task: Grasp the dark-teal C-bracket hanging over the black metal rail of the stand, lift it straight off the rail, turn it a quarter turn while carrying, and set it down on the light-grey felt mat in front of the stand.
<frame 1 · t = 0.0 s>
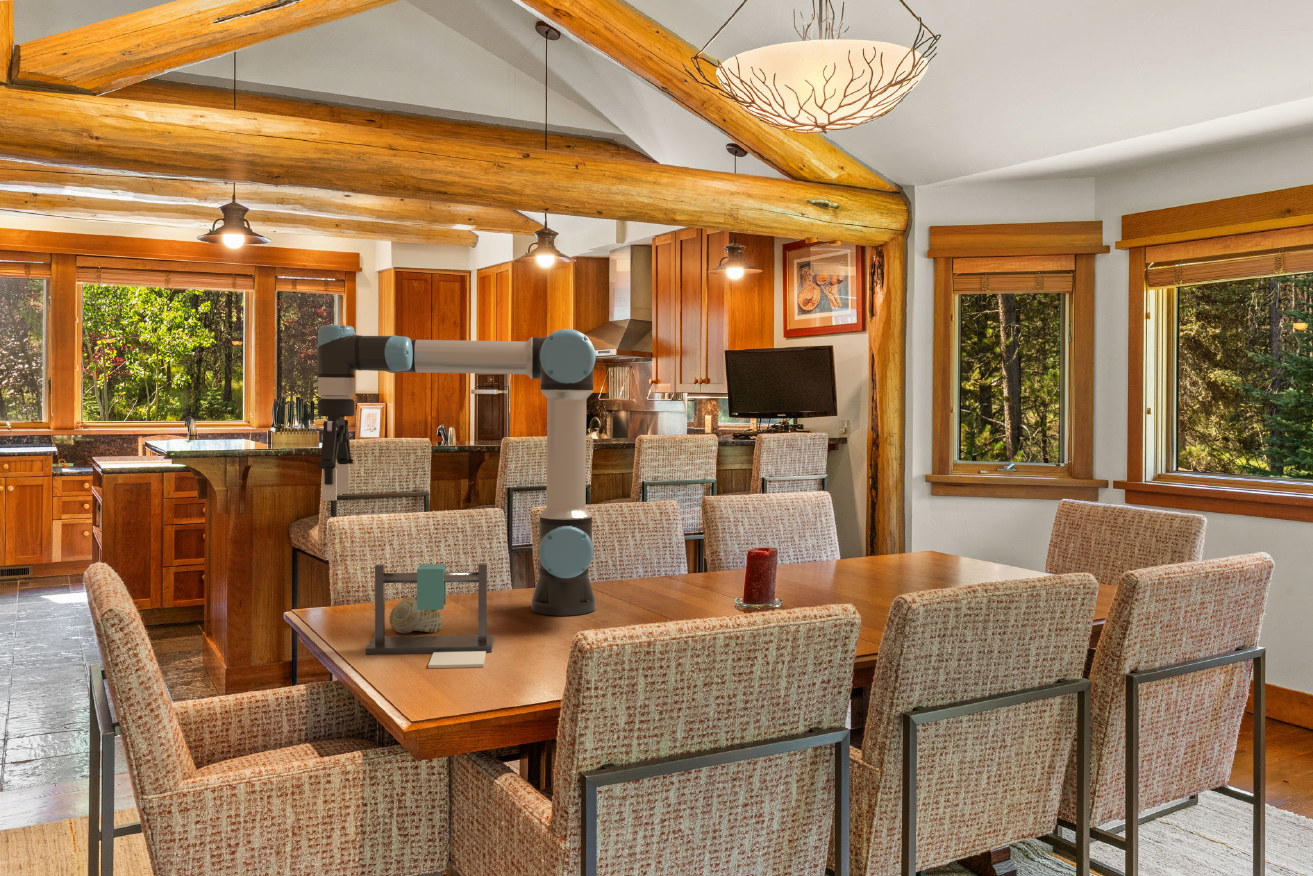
hand: (336, 497, 209), 28 cm above the table, fingers open, 13 cm apart
seashell: (414, 632, 207), on the table
stand: (431, 647, 193), on the table
c link: (431, 606, 193), point 8 cm above the table, touching stand
mat: (457, 661, 184), on the table
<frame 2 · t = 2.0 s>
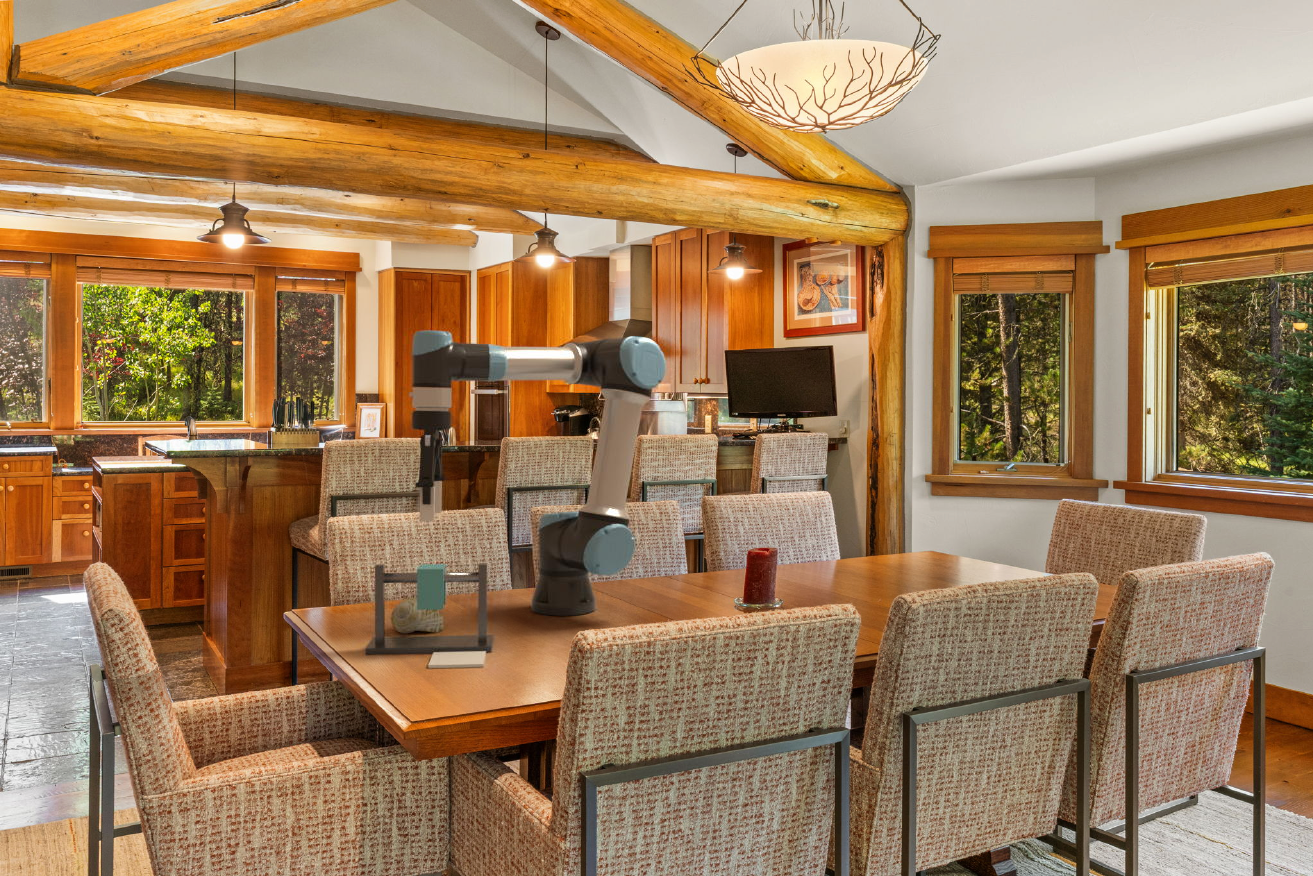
hand: (430, 517, 192), 26 cm above the table, fingers open, 13 cm apart
nothing on the table moved.
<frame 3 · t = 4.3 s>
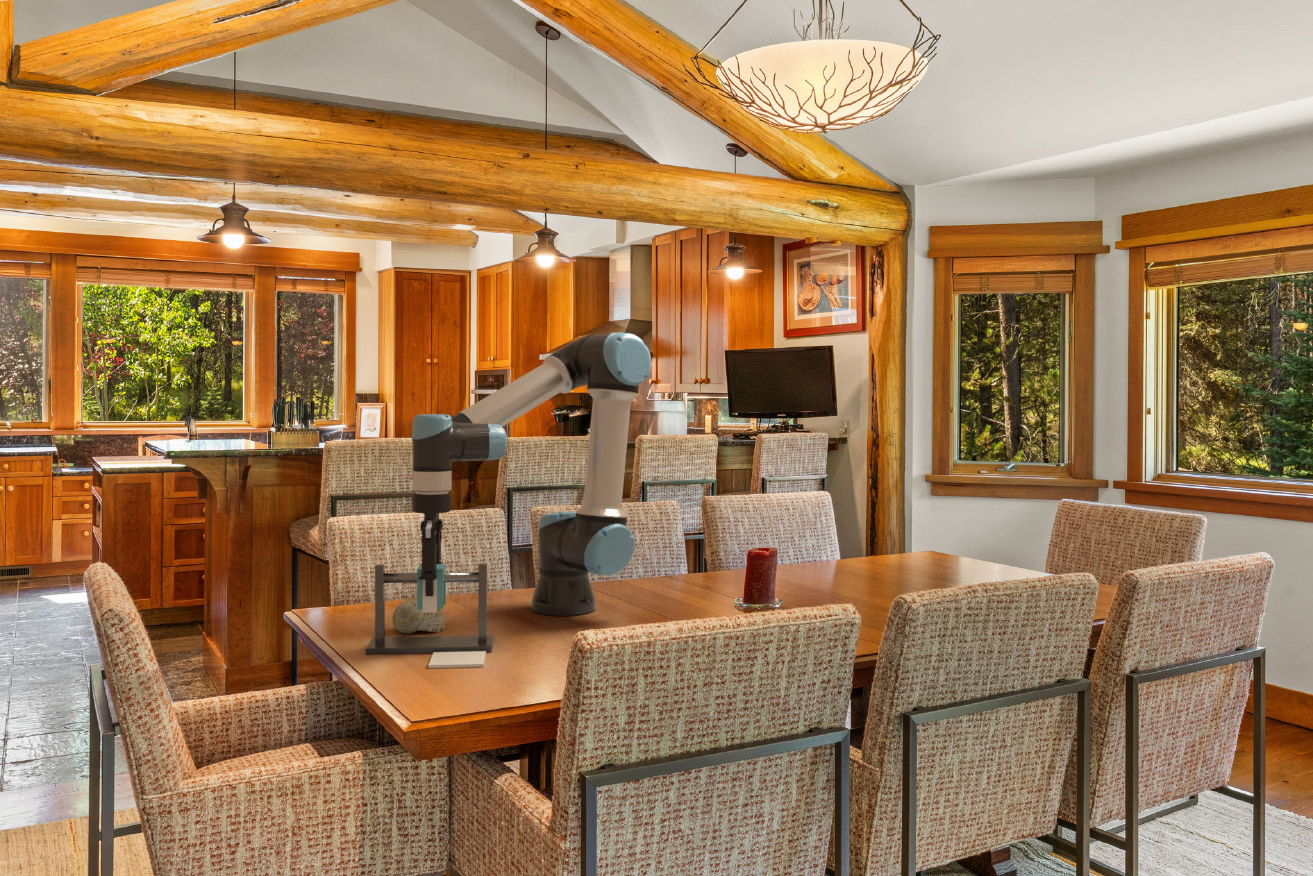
hand: (431, 608, 193), 8 cm above the table, fingers closed on c link, 6 cm apart
c link: (431, 606, 193), point 8 cm above the table, touching gripper, stand
everything else where it was.
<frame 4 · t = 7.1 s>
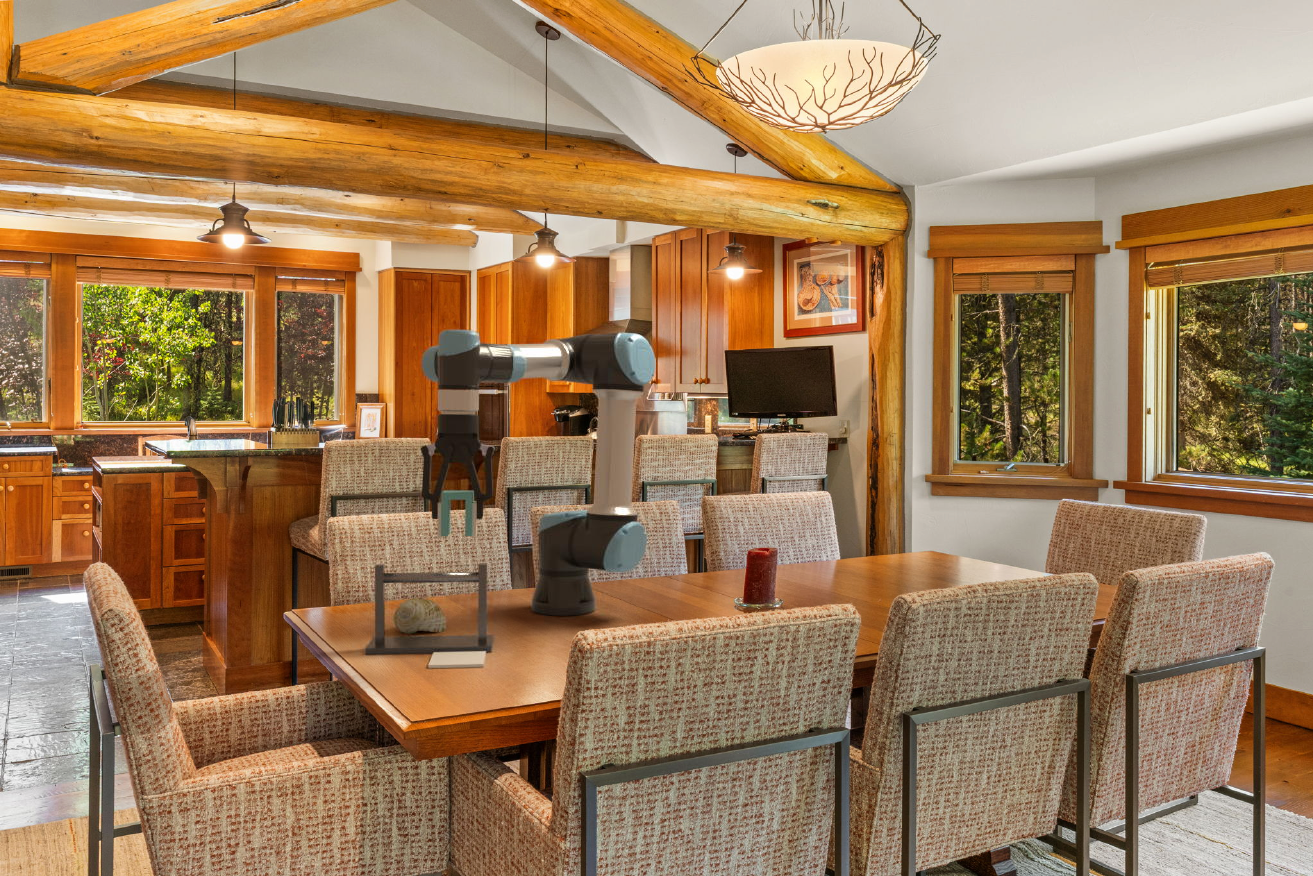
hand: (457, 536, 183), 24 cm above the table, fingers closed on c link, 6 cm apart
c link: (457, 534, 183), point 24 cm above the table, touching gripper
everything else where it was.
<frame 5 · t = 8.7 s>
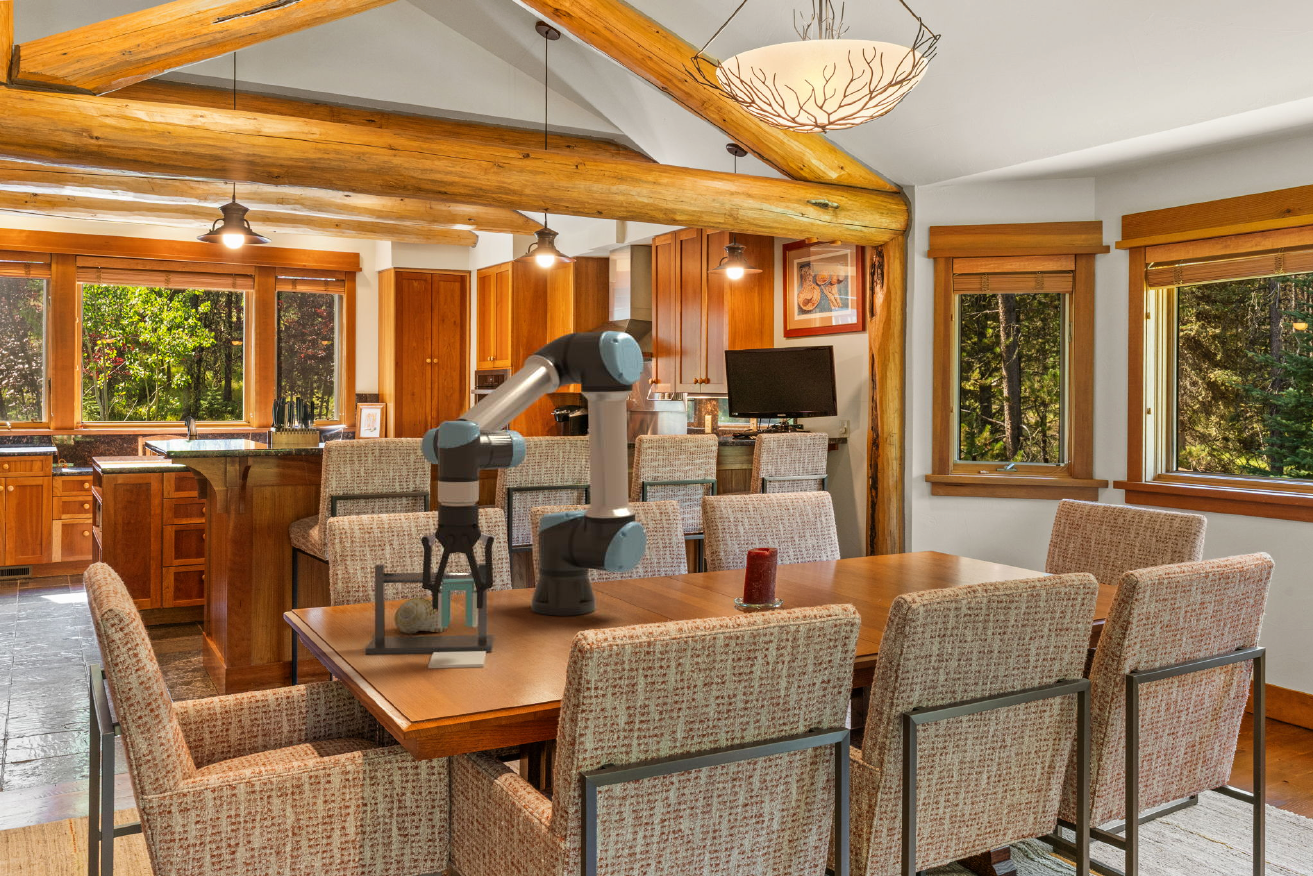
hand: (457, 625, 183), 7 cm above the table, fingers closed on c link, 6 cm apart
c link: (457, 623, 183), point 7 cm above the table, touching gripper
when the fingers open (2 cm above the table, at t = 10.1 s): c link drops 1 cm, resting on mat.
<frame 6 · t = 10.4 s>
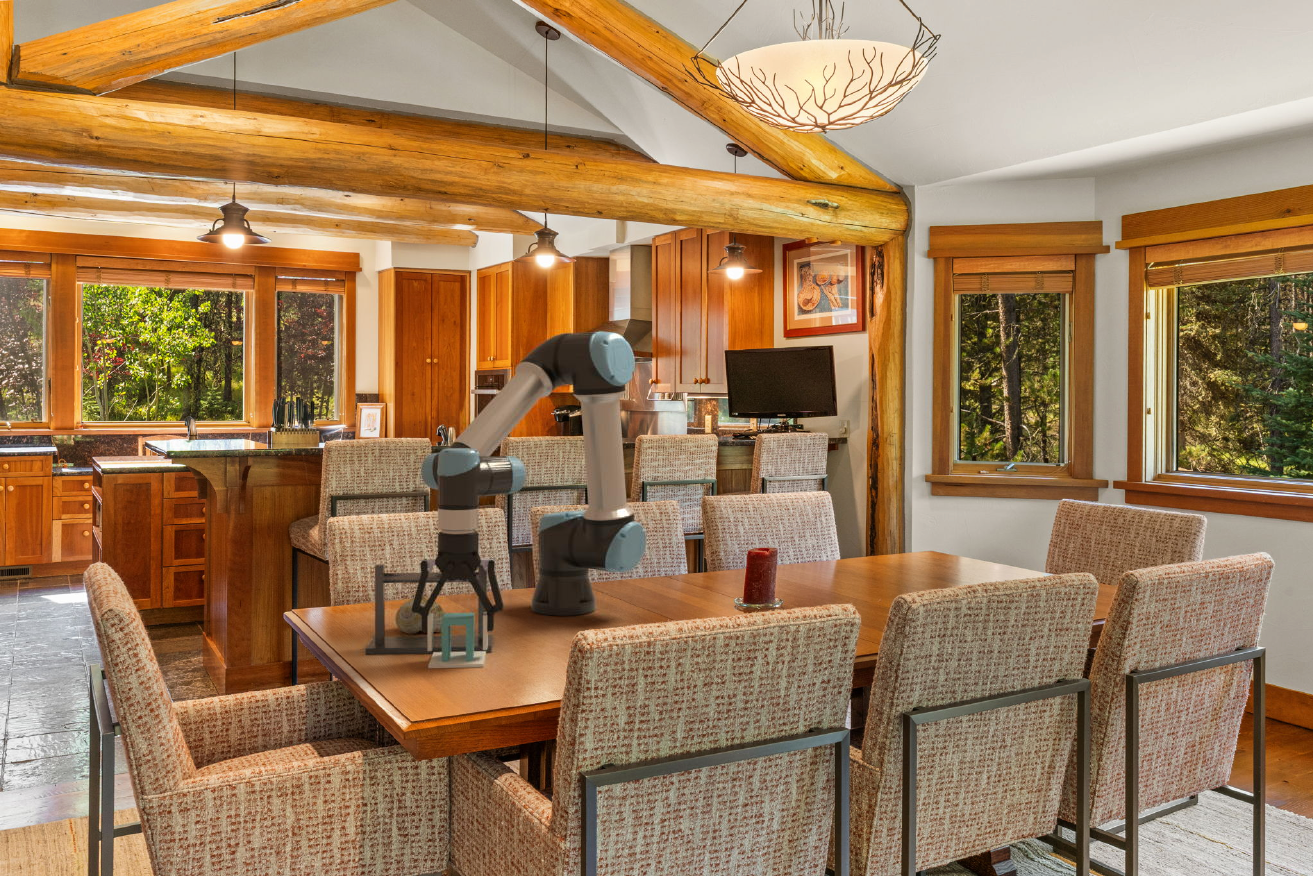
hand: (457, 648, 184), 2 cm above the table, fingers open, 9 cm apart
c link: (458, 657, 184), point 1 cm above the table, touching mat
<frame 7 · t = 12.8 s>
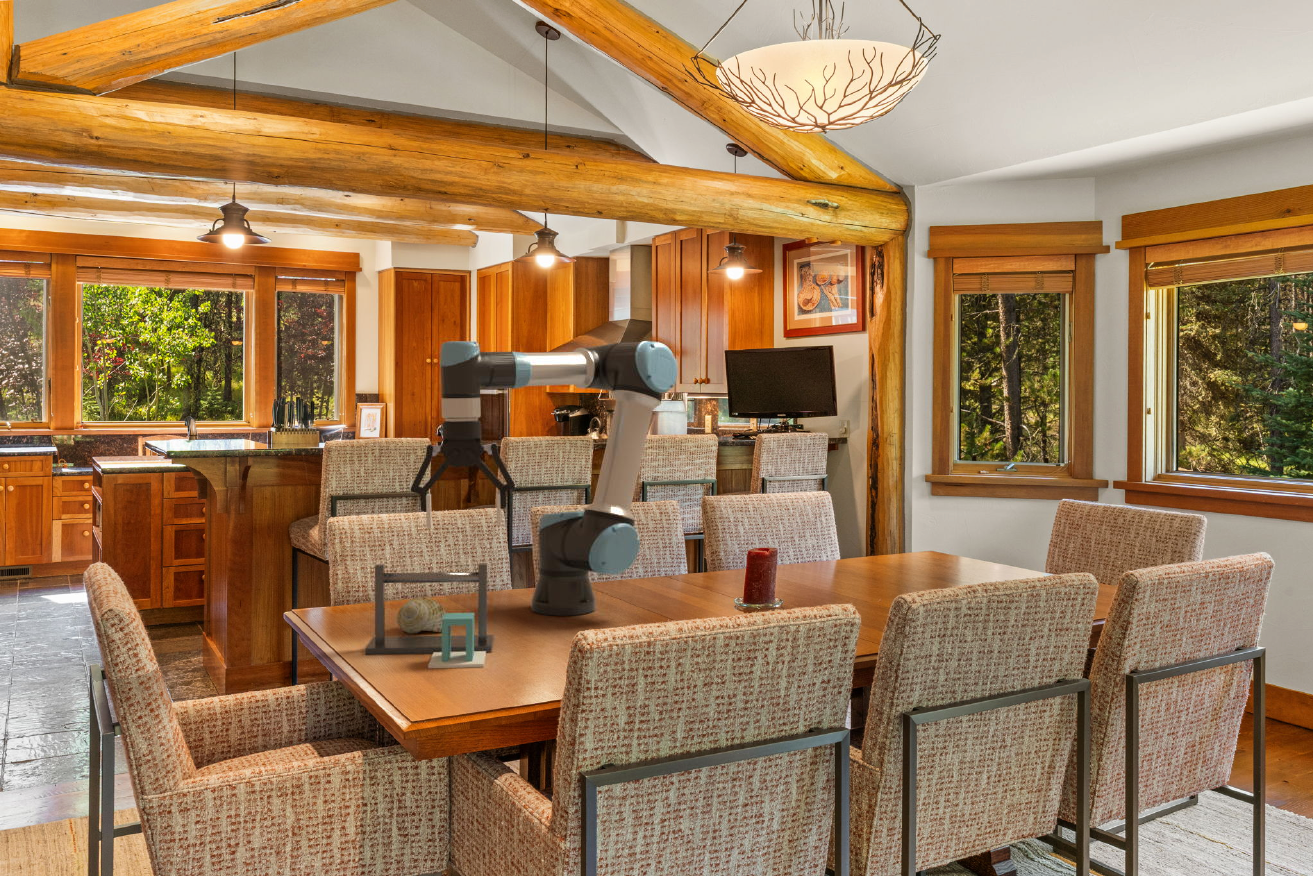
hand: (464, 526, 194), 24 cm above the table, fingers open, 13 cm apart
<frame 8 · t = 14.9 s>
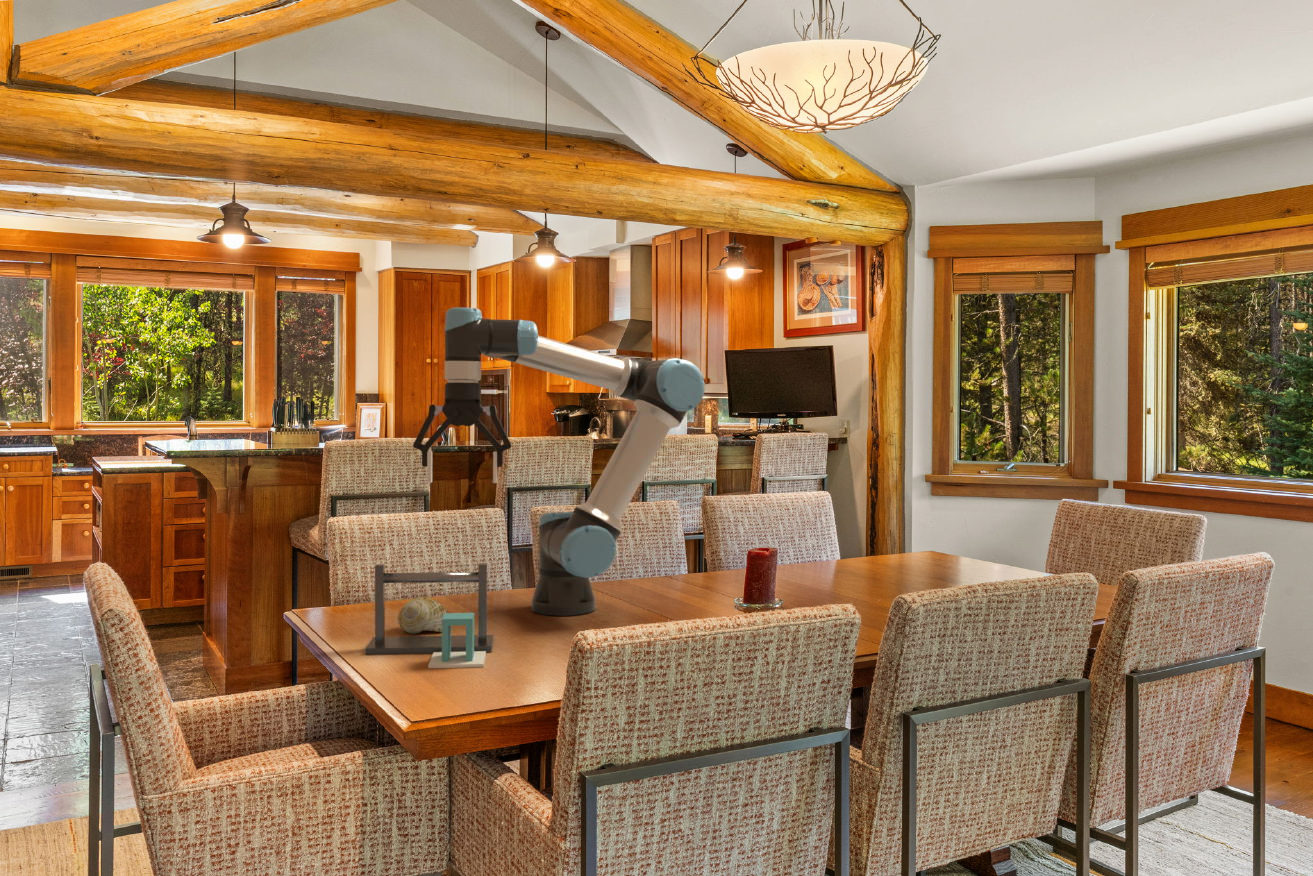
hand: (462, 482, 206), 32 cm above the table, fingers open, 13 cm apart
at the end: c link inside the target area on the mat (0.1 cm from its centre), point 0.6 cm above the mat's base; c link touching mat; the gripper is holding nothing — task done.
